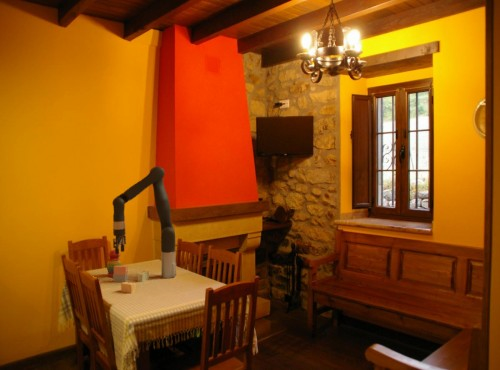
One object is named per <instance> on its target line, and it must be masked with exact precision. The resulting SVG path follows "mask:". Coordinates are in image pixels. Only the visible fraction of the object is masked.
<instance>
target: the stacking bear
mask: <svg viewBox="0 0 500 370" xmlns="http://www.w3.org/2000/svg"><path fill="white" fill-rule="evenodd" d="M120 256H121V253H120V252H119V254H115V248H113V249H112V250H110V251H109V253H108V257H109V258H108V260H107V264H106V270H107V277H108V278H113V274H114V266H116V265H117V266H122V262H121V259H120Z"/></svg>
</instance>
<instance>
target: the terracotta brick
mask: <svg viewBox="0 0 500 370" xmlns="http://www.w3.org/2000/svg"><path fill="white" fill-rule="evenodd" d="M128 266H129V265H121V266H117V265H116V266H114V274H118V275H126V274H127V275H128V272H129V271H128V268H129V267H128Z"/></svg>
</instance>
